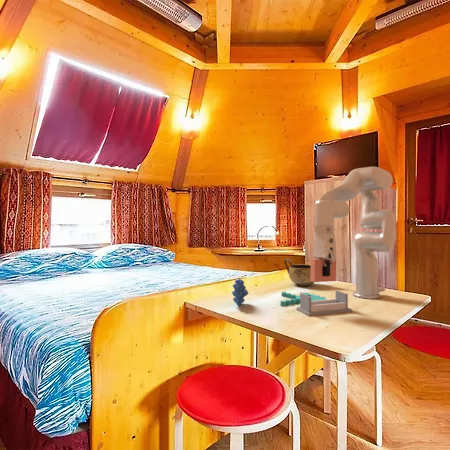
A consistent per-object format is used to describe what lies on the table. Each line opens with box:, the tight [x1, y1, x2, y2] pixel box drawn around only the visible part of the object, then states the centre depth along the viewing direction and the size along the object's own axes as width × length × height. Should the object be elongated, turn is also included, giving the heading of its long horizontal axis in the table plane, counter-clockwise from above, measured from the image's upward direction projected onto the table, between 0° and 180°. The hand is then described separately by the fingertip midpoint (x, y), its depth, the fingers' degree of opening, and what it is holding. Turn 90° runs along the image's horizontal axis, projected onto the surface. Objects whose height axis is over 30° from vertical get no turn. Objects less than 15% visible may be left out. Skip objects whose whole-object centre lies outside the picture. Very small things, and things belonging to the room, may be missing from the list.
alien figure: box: [280, 291, 327, 307], centre depth 145 cm, size 20×2×20 cm
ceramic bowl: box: [283, 258, 315, 287], centre depth 181 cm, size 22×17×15 cm
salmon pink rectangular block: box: [310, 258, 337, 283], centre depth 129 cm, size 10×3×9 cm, turn 107°
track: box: [296, 290, 353, 317], centre depth 129 cm, size 20×9×7 cm, turn 107°
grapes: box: [231, 278, 249, 307], centre depth 137 cm, size 12×7×12 cm, turn 156°
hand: (323, 274), depth 129 cm, fingers closed on salmon pink rectangular block, 3 cm apart
